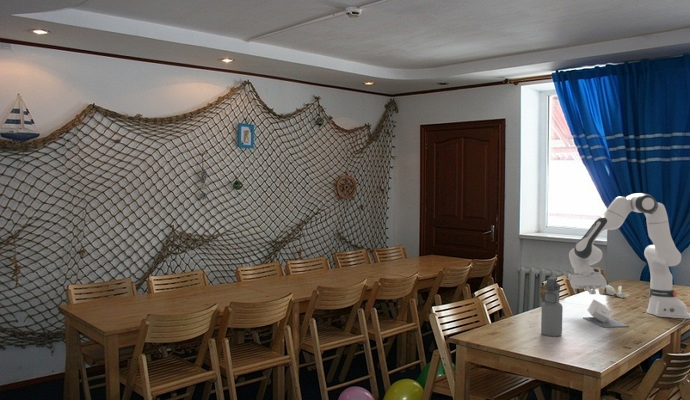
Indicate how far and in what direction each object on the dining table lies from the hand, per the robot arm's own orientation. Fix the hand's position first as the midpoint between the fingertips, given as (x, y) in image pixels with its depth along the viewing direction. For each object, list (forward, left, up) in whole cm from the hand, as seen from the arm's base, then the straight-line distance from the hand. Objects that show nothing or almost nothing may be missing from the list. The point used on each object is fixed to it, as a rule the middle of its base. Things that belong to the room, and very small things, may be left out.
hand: (593, 293), depth 333 cm
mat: (-8, +10, -13) cm, 18 cm away
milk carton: (-2, -1, -8) cm, 8 cm away
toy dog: (-1, -74, -14) cm, 75 cm away
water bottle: (+11, +50, -13) cm, 53 cm away
